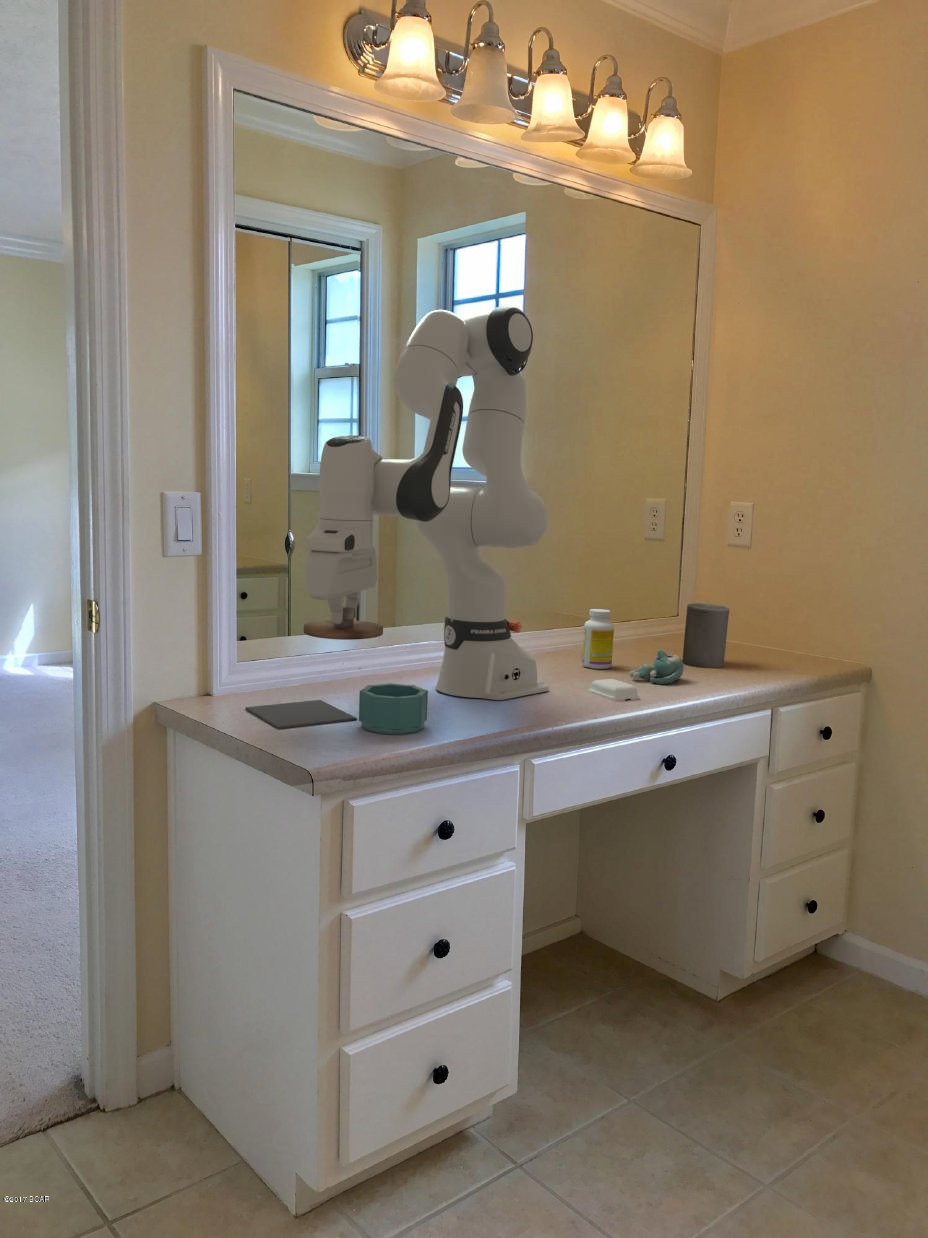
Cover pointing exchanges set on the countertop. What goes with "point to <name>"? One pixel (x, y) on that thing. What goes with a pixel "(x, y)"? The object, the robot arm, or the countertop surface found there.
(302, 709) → the mat
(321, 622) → the lid
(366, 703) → the bowl
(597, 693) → the soap
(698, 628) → the pillar candle
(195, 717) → the countertop surface
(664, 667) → the stuffed animal
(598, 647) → the supplement bottle
